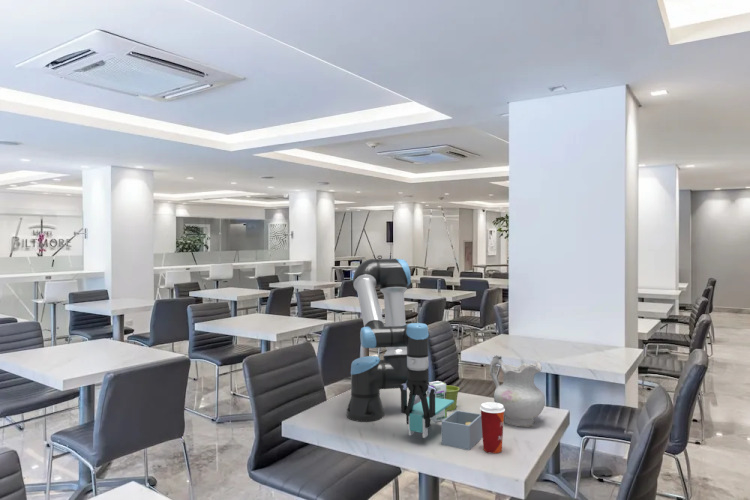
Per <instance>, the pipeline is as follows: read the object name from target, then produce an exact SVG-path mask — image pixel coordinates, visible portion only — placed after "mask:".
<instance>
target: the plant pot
mask: <svg viewBox="0 0 750 500" xmlns="http://www.w3.org/2000/svg"><path fill="white" fill-rule="evenodd" d="M459 392H460V387H458V386H455V385H450V384H449V385H447V384H446V399H448V400H454V403H453V404H451V405H450V406H448V407H447V412H448V411H455V409H456V410H457V403H458V401H457V400H458V394H459Z"/></svg>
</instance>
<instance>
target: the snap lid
mask: <svg viewBox="0 0 750 500" xmlns="http://www.w3.org/2000/svg"><path fill="white" fill-rule="evenodd" d="M427 402H428V406H429V397H427ZM453 403H454V400H448V399H441V398H435V415H437V414H438V413H440V412H441V411H443V410H444V409H445V408H447V407H448V406H450V405H451V404H453ZM423 418H424V413H423V408H422V403H421V400H419V402H417V403H414V405H413V409H412V413H410V431H414V433H415V432H416V433H422V434H423V423H422V419H423Z"/></svg>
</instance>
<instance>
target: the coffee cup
mask: <svg viewBox="0 0 750 500" xmlns="http://www.w3.org/2000/svg"><path fill="white" fill-rule="evenodd" d="M479 411H480V414H481V420H482V436H483V437H482V447H483V451H484V452H486V453H488V454H499V453H501V452H502V450H503V440H504V439H503V437H504V421H503V420H504V419H505V416H504V411H505V409H504V406H503V405H502V404H500V403H496V402H494V401H486V402H483V403H481V404H480V407H479Z"/></svg>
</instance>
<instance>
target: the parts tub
mask: <svg viewBox="0 0 750 500" xmlns="http://www.w3.org/2000/svg"><path fill="white" fill-rule="evenodd" d="M481 439H483V436H482V420H481V413H476V412H469V411H463V410H457V409H456V410H454V411H453V412H452V413H451V414H450V415H447V418H445V419H444V420H442V421H441V445H442V446H448V447H453V448H457V449H463V450H468V451H470V450H471V449H472V448H473V447H474V446H475V445H476V444H478V443H479V441H480V440H481Z"/></svg>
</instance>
